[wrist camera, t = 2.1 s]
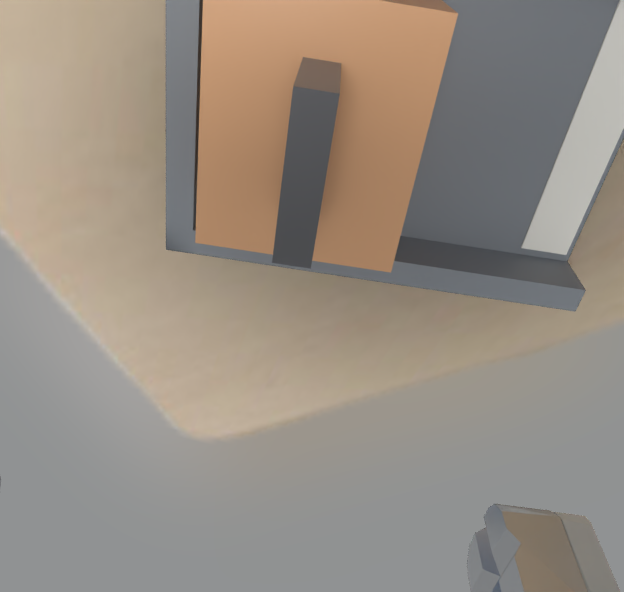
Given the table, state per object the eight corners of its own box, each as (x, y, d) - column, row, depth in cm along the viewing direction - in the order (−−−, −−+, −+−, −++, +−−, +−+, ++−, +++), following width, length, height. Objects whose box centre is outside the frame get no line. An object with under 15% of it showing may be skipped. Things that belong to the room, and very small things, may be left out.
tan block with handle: (432, -8, 29) (483, 34, 18) (383, 206, 35) (398, 332, 25) (237, -41, 28) (169, -18, 18) (224, 182, 35) (168, 297, 24)
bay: (702, -48, 28) (751, -44, 25) (555, 277, 39) (575, 311, 35) (188, -138, 27) (165, -147, 24) (182, 220, 38) (166, 249, 34)
